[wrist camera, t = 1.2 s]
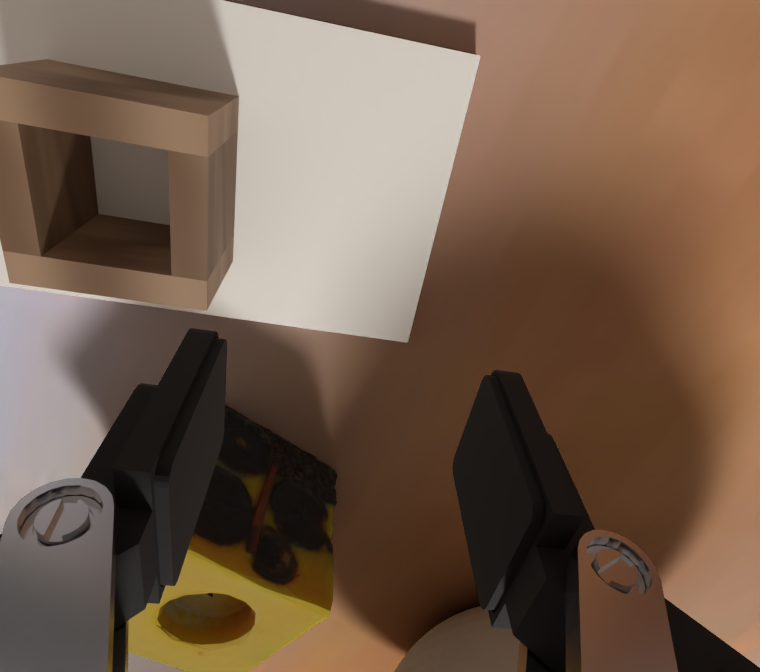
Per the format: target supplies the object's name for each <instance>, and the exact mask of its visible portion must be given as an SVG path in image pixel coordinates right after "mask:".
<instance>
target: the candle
mask: <svg viewBox="0 0 760 672" xmlns="http://www.w3.org/2000/svg"><path fill="white" fill-rule="evenodd" d="M336 479H337V474H336V473H335V471H334V470H333V469H331V468H330V467H329V466H328V465H326V464H324V463H322V462H320V461H317V460H316V458H315V457H314V456H312V455H310V454H308V453H306V452H303V451H300V449H299V448H297V447H295V446H294V445H292V444H291V443H289V442H287V441H284V440H283V439H282V438H280V437H279V436H277V435H275V434H272V433H271V432H270V431H269V430H267V429H264V428H262V427H260V426H259V425H257V424H255V423H253V422H251V421H249V420H248V419H247V418H245V417H244V416H242V415H241V414H239V413H237V412H235V411H233V410H231V409H228V408H227V407H226V406H225V417H224V436H223V442H222V446H221V450H220V453H219V456H218V459H217V462H216V465H215V468H214V471H213V474H212V477H211V480H210V483H209V487H208V490H207V493H206V496H205V499H204V502H203V505H202V508H201V511H200V514H199V517H198V520H197V523H196V526H195V529H194V532H193V536H192V539H191V542H190V545H189V548H188V551H187V554H186V557H185V560H184V563H183V566H182V569H181V572H180V575H179V578H178V581H177V583H176V585H175V586H167V585H166V586H165V589H164V592H163V595H162V598H161V600H160V603H159V604H155V603H147V605H146V608H145V610H143V611H142V612H140V613H139V614H137V615H135V616H134V617H132V618H131V619H129V627H128V653H132V654H135V655H138V656H142V657H144V658H147V659H151V660H153V661H156V662H159V663H162V664H165V665H168V666H171V667H174V668H177V669H180V670H183V671H186V672H249V671H250V670H252V669H253V668H255V667H256V666H258V665H259V664H260V663H261V662H263V661H264V660H266V659H267V658H268V657H270V656H271V655H273V654H274V653H276V652H277V651H278V650H280V649H281V648H283V647H284V646H286V645H287V644H288V643H290V642H291V641H293V640H295V639H297V638H299V637H300V636H301V635H303V634H304V633H305V632H307V631H308V630H310V629H311V628H313V627H314V626H316V625H317V624H319V623H320V622H322V621H323V620H325V619H326V618H328V617H329V615H330V611H331V606H332V601H333V572H334V557H333V545H332V543H331V539H332V535H333V525H332V514H333V510H334V506H335V505H336V490H335V486H336Z"/></svg>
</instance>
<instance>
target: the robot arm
mask: <svg viewBox="0 0 760 672" xmlns="http://www.w3.org/2000/svg"><path fill="white" fill-rule="evenodd" d="M226 358H227V341H226V340H224V339H218V333H217V332H215V331H207V330H200V329H193V328H191V329H189V331H188V332H187V334H186V336H185V338H184V339H183V341H182V343H181V345H180V347H179V348H178V350H177V352H176V354H175V356H174V357H173V359H172V361H171V363H170V365H169V366H168V368H167V370H166V372H165V374H164V375H163V377H162V379H161V381H160V383H159V384H158V385H151V384H143V383H141V384H140V385H138V386H137V387H136V389H135V390H134V391H133V393H132V395H131V396H130V398H129V400H128V401H127V403H126V405H125V406H124V408H123V409H122V411H121V413H120V414H119V416H118V418H117V419H116V421H115V423H114V424H113V426H112V427H111V429H110V431H109V432H108V434H107V436H106V437H105V439H104V441H103V442H102V444H101V445H100V447H99V449H98V450H97V452H96V454H95V455H94V457H93V459H92V460H91V462H90V463H89V465H88V467H87V468H86V470H85V472H84V473H83V475H82V477H81V478H67V479H62V480H58V481H54V482H50V483H48V484H45V485H43V486H41V487H39V488H36V489H34V490H33V491H31V492H30V493H29V494H27V495H26V496H24V497H23V498H21V499H20V500H19V502H18V503H17V504H16V505H15V506H14V507H13V508H12V509H11V510H10V512H9V515H8V517H7V519H6V521H5V524H4V528H3V532H2V534H1V535H0V672H128V627H129V619H131V618H132V617H134V616H135V615H137V614H139V613H140V612H142V611H143V610H145V608H146V605H147V603H155V604H159V603H160V600H161V598H162V595H163V592H164V589H165V586H166V585H167V586H175V585H176V583H177V581H178V578H179V575H180V572H181V569H182V566H183V563H184V560H185V557H186V554H187V551H188V548H189V545H190V542H191V539H192V536H193V532H194V529H195V526H196V523H197V520H198V517H199V514H200V511H201V508H202V505H203V502H204V499H205V496H206V493H207V490H208V487H209V483H210V480H211V477H212V474H213V471H214V468H215V465H216V462H217V459H218V456H219V453H220V450H221V446H222V442H223V436H224V417H225V388H226ZM453 476H454V481H455V486H456V491H457V496H458V501H459V505H460V510H461V515H462V520H463V525H464V530H465V535H466V540H467V545H468V550H469V555H470V560H471V565H472V570H473V575H474V580H475V585H476V590H477V595H478V599H479V603H480V606H481V608H482V609H483V610H488V613H489V617H490V622H491V627H492V628H503V629H512V633H513V635H514V636H515V637H516V638H517V639H518V640H519V641H520V642H519V652H518V665H517V672H760V668H759V667H758V666H756V665H755V664H754V663H752V662H751V661H750V660H748V659H747V658H746V657H744V656H743V655H741V654H740V653H739V652H737V651H736V650H735V649H733V648H732V647H731V646H729V645H728V644H726V643H725V642H724V641H722V640H721V639H720V638H718V637H717V636H716V635H714V634H713V633H711V632H710V631H709V630H707V629H706V628H705V627H703V626H702V625H701V624H699V623H698V622H696V621H695V620H694V619H692V618H691V617H690V616H688V615H687V614H686V613H684V612H683V611H681V610H680V609H679V608H677V607H676V606H675V605H673V604H672V603H671V602H669V601H668V600H666V599H665V598H664V594H663V589H662V584H661V579H660V577H659V574H658V571H657V569H656V567H655V565H654V564H653V562H652V561H651V559H650V558H649V557H648V556H647V555H646V554H645V553H644V552H643V551H642V550H641V549H640V548H639V547H638V546H637V545H635V544H634V543H633V542H631V541H630V540H629V539H627V538H625V537H623V536H621V535H619V534H617V533H614V532H610V531H606V530H595V529H594V526H593V524H592V522H591V520H590V518H589V516H588V513H587V511H586V509H585V507H584V505H583V502H582V500H581V498H580V496H579V494H578V492H577V489H576V487H575V485H574V483H573V481H572V478H571V476H570V474H569V472H568V470H567V468H566V465H565V463H564V461H563V459H562V457H561V454H560V452H559V450H558V448H557V446H556V444H555V441H554V440H553V438H552V437H551V435H549V434H548V433H547V432H546V429H545V427H544V425H543V423H542V421H541V418H540V416H539V414H538V412H537V409H536V407H535V405H534V403H533V400H532V398H531V396H530V394H529V392H528V389H527V387H526V385H525V383H524V380H523V378H522V376H521V375H520V374H519V373H514V372H506V371H499V370H495V371H493V372H492V374H491V376H490V375H485V376H484V377H483V380H482V382H481V385H480V388H479V390H478V393H477V396H476V399H475V401H474V404H473V407H472V410H471V413H470V415H469V418H468V421H467V424H466V426H465V429H464V432H463V435H462V437H461V440H460V443H459V446H458V448H457V451H456V454H455V457H454V461H453Z"/></svg>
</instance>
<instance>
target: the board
mask: <svg viewBox="0 0 760 672" xmlns="http://www.w3.org/2000/svg"><path fill="white" fill-rule="evenodd" d="M45 59H49V60H54V61H59V62H64V63H69V64H75V65H80V66H85V67H90V68H95V69H100V70H105V71H111V72H116V73H121V74H126V75H131V76H136V77H142V78H147V79H152V80H157V81H162V82H167V83H173V84H178V85H183V86H188V87H193V88H198V89H203V90H209V91H214V92H219V93H224V94H229V95H234V96H239V113H238V139H237V166H236V193H235V220H234V247H233V262H232V264H231V266H230V268H229V270H228V272H227V274H226V275H225V277H224V279H223V281H222V283H221V285H220V287H219V289H218V291H217V292H216V294H215V296H214V298H213V300H212V302H211V304H210V306H209V308H208V309H207V311H204V310H197V309H190V308H183V307H176V306H169V305H162V304H155V303H148V302H141V301H134V300H127V299H120V298H113V297H105V296H98V295H91V294H84V293H77V292H70V291H63V290H56V289H49V288H42V287H35V286H28V285H21V284H14V283H9V278H8V273H7V269H6V264H5V260H4V255H3V250H2V246H1V241H0V286H8V287H15V288H22V289H29V290H36V291H43V292H50V293H57V294H64V295H72V296H79V297H86V298H93V299H100V300H107V301H114V302H121V303H128V304H135V305H143V306H150V307H157V308H164V309H171V310H178V311H185V312H192V313H199V314H207V315H214V316H221V317H228V318H235V319H242V320H249V321H256V322H263V323H271V324H278V325H285V326H292V327H299V328H306V329H313V330H320V331H327V332H335V333H342V334H349V335H356V336H363V337H370V338H377V339H384V340H391V341H399V342H406V343H408V340H409V336H410V332H411V328H412V324H413V320H414V316H415V312H416V308H417V304H418V300H419V296H420V292H421V288H422V285H423V281H424V277H425V273H426V269H427V265H428V261H429V257H430V253H431V249H432V245H433V241H434V237H435V233H436V229H437V226H438V222H439V218H440V214H441V210H442V206H443V202H444V198H445V194H446V190H447V186H448V182H449V178H450V174H451V170H452V167H453V163H454V159H455V155H456V151H457V147H458V143H459V139H460V135H461V131H462V127H463V123H464V119H465V115H466V111H467V108H468V104H469V100H470V96H471V92H472V88H473V84H474V80H475V76H476V72H477V68H478V64H479V60H480V56H479V55H476V54H471V53H466V52H462V51H457V50H453V49H448V48H443V47H439V46H434V45H429V44H425V43H420V42H416V41H411V40H406V39H402V38H397V37H392V36H388V35H383V34H378V33H374V32H369V31H365V30H360V29H355V28H351V27H346V26H341V25H337V24H332V23H328V22H323V21H318V20H314V19H309V18H304V17H300V16H295V15H291V14H286V13H281V12H277V11H272V10H267V9H263V8H258V7H254V6H249V5H244V4H240V3H235V2H230V1H226V0H0V65H5V64H13V63H21V62H29V61H37V60H45ZM90 138H91V147H92V156H93V166H94V175H95V185H96V194H97V203H98V213H99V214H103V215H109V216H116V217H122V218H128V219H134V220H140V221H147V222H153V223H159V224H165V225H170V208H169V176H168V150H165V149H159V148H153V147H148V146H142V145H136V144H131V143H125V142H120V141H114V140H108V139H103V138H97V137H91V136H90Z"/></svg>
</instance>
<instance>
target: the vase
mask: <svg viewBox="0 0 760 672" xmlns="http://www.w3.org/2000/svg"><path fill="white" fill-rule="evenodd" d="M519 642H520V641H519V640H518V639H517V638H516V637H515V636H514V635H513V633H512V629H503V628H492V627H491V622H490V617H489V613H488V610H483V609H482V608H481V606H479V607H475V608H472V609H469V610H466V611H464V612H461V613H458V614H456V615H454V616H452V617H450V618H448V619H446V620H445V621H443V622H441V623H440V624H438V625H436V626H435V627H434V628H432V629H431V630H430V631H429V632H427V633H426V634H425V635H423V636H422V637H421V638H420V639H419V640H418V641H417V642H416V643H415V644H414V645H413V646H412V648H411V649H410V650H409V651H408V652H407V654H406V655H405V657H404V658H403V659H402V661H401V662H400V664H399V665H398V667H397V668H396V670H395V672H517V665H518V652H519Z"/></svg>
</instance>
